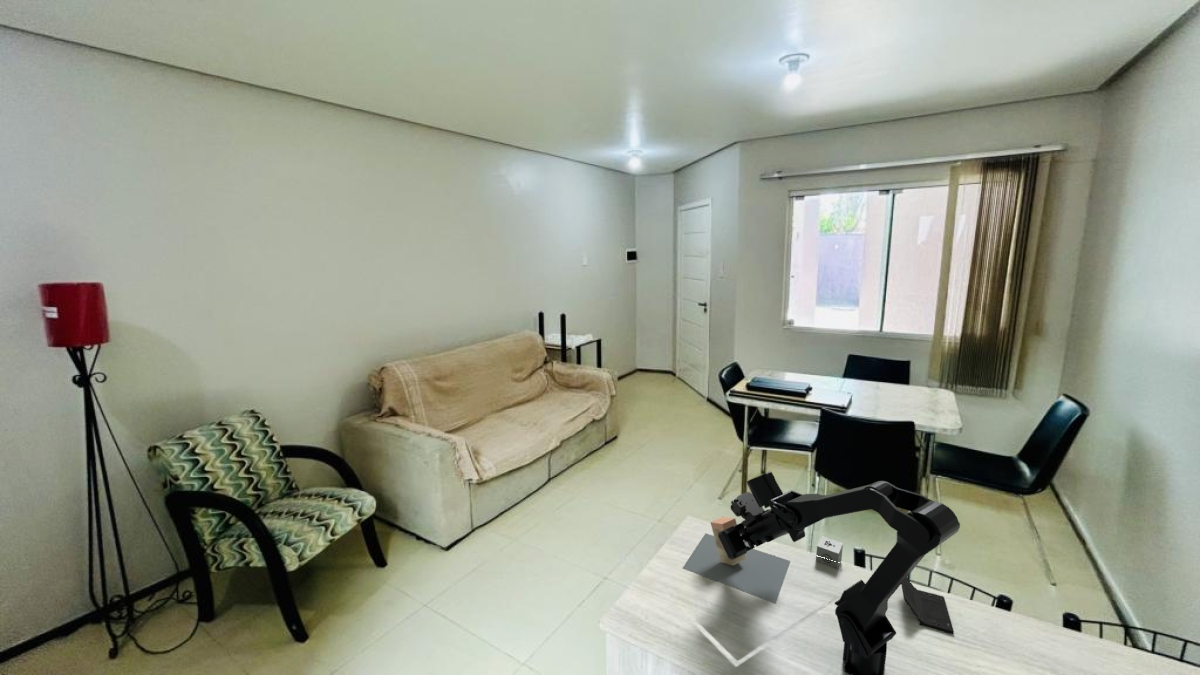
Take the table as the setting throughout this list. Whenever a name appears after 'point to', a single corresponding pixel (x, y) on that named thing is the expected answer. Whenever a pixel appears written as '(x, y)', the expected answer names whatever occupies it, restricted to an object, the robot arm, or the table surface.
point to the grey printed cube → (829, 552)
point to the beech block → (718, 527)
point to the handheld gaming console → (927, 608)
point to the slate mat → (740, 569)
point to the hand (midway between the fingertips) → (734, 540)
